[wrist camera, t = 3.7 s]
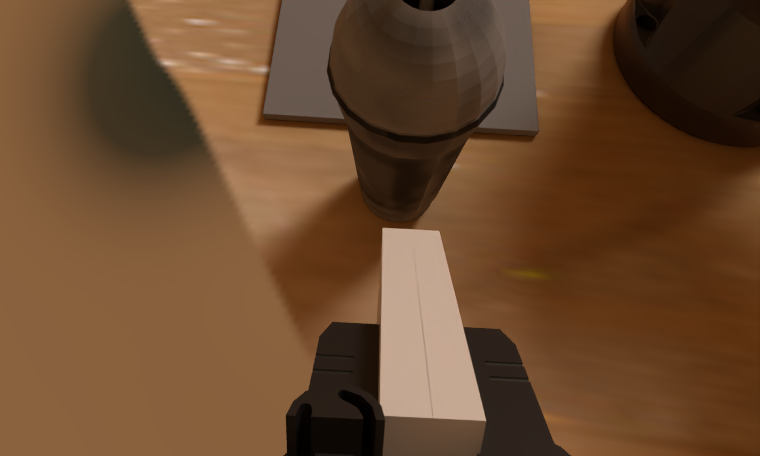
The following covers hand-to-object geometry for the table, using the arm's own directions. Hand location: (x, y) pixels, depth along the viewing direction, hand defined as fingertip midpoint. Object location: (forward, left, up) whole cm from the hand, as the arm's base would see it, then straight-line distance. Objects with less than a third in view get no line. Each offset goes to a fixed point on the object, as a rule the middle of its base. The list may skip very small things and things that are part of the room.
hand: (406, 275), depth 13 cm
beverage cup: (-7, -7, -15) cm, 18 cm away
